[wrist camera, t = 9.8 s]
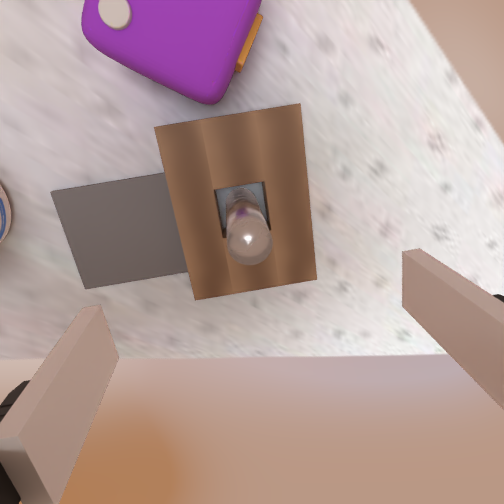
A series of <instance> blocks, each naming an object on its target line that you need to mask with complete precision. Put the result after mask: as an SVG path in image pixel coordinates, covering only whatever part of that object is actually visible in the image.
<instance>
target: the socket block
mask: <svg viewBox="0 0 504 504" xmlns="http://www.w3.org/2000/svg"><path fill="white" fill-rule="evenodd" d="M154 129H155V134H156V138H157V142H158V146H159V150H160V155H161V159H162V163H163V167H164V172H165V176H166V180H167V184H168V188H169V193H170V197H171V201H172V205H173V209H174V214H175V218H176V222H177V226H178V230H179V235H180V239H181V243H182V247H183V252H184V256H185V260H186V264H187V268H188V273H189V277H190V281H191V285H192V289H193V294H194V298H195V300H201V299H206V298H212V297H218V296H224V295H230V294H236V293H241V292H247V291H253V290H259V289H265V288H271V287H276V286H282V285H288V284H294V283H300V282H306V281H311V280H317V274H316V263H315V253H314V242H313V231H312V221H311V210H310V200H309V189H308V178H307V168H306V157H305V147H304V136H303V125H302V115H301V104H300V103H299V104H293V105H287V106H281V107H275V108H268V109H262V110H256V111H250V112H244V113H238V114H231V115H225V116H219V117H213V118H207V119H201V120H194V121H188V122H182V123H176V124H170V125H164V126H158V127H154ZM257 182H262V186H263V193H264V200H265V207H266V214H267V222H266V224H267V226H268V228H269V231H270V233H271V236H272V240H273V246H272V250H271V252H270V254H269V256H268V257H267V258H266V259H265V260H264V261H262V262H260V263H258V264H255V265H244V264H241V263H239V262H237V261H235V260H234V259H233V258H232V257H231V255H230V254H229V252H228V249H227V229H226V228H225V229H223V227H222V222H221V217H220V212H219V206H218V201H217V196H216V191H215V189H221V188H227V187H233V186H239V185H245V184H251V183H257Z"/></svg>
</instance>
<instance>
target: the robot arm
mask: <svg viewBox="0 0 504 504" xmlns="http://www.w3.org/2000/svg"><path fill="white" fill-rule="evenodd" d="M402 307H403V308H404V309H405V310H406V311H407V312H408V313H409V314H410V315H411V316H412V317H413V318H414V319H415V320H416V321H417V322H418V323H419V324H420V325H421V326H422V327H423V328H424V329H425V330H426V331H427V332H428V333H429V334H430V335H431V336H432V337H433V338H434V339H435V340H436V341H437V342H438V344H439V345H440V346H441V347H442V348H443V349H444V350H445V351H446V352H447V353H448V354H449V355H450V356H451V357H452V358H453V359H454V360H455V361H456V362H457V363H458V364H459V365H460V366H461V367H462V368H463V369H464V370H465V371H466V372H467V373H468V374H469V375H470V376H471V377H472V378H473V379H474V380H475V381H476V382H477V383H478V384H479V385H480V386H481V387H482V388H483V389H484V391H485V392H487V394H489V396H490V397H491V398H492V399H493V400H494V401H495V402H496V403H497V404H498V405H499V406H500V407H501V408H502V409H503V410H504V296H502V295H499V294H496V295H491V294H489V293H488V292H486V291H485V290H483V289H482V288H480V287H479V286H477V285H475V284H474V283H472V282H471V281H469V280H468V279H466V278H465V277H463V276H462V275H460V274H458V273H457V272H455V271H454V270H452V269H451V268H449V267H448V266H446V265H445V264H443V263H441V262H440V261H438V260H437V259H435V258H434V257H432V256H431V255H429V254H427V253H426V252H424V251H423V250H421V249H420V248H419V249H414V250H408V251H402ZM118 359H119V356H118V353H117V350H116V348H115V345H114V342H113V339H112V336H111V333H110V330H109V328H108V325H107V322H106V319H105V316H104V313H103V311H102V308H101V305H96V306H90V307H85V308H82V309H81V311H80V312H79V313H78V315H77V316H76V318H75V319H74V320H73V322H72V323H71V324H70V326H69V327H68V329H67V330H66V331H65V333H64V334H63V336H62V337H61V338H60V340H59V341H58V343H57V344H56V345H55V347H54V348H53V350H52V351H51V352H50V354H49V355H48V357H47V358H46V359H45V361H44V362H43V364H42V365H41V366H40V368H39V369H38V371H37V372H36V373H35V375H34V376H33V378H32V379H31V380H29V381H24V382H22V383H21V384H20V385H19V386H17V387H16V388H15V389H14V390H13V391H12V392H10V393H9V394H8V396H7V397H6V398H5V400H4V401H3V402H2V404H1V405H0V504H19V502H20V500H21V502H22V504H59V502H60V499H61V497H62V494H63V492H64V490H65V487H66V485H67V482H68V480H69V478H70V475H71V473H72V470H73V468H74V465H75V463H76V460H77V458H78V456H79V453H80V451H81V448H82V446H83V444H84V441H85V439H86V436H87V434H88V432H89V429H90V427H91V424H92V422H93V420H94V417H95V415H96V412H97V410H98V407H99V405H100V403H101V400H102V398H103V395H104V393H105V390H106V388H107V386H108V383H109V381H110V378H111V376H112V374H113V371H114V369H115V366H116V364H117V362H118Z"/></svg>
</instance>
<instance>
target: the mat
mask: <svg viewBox="0 0 504 504" xmlns="http://www.w3.org/2000/svg"><path fill="white" fill-rule="evenodd" d="M50 193H51V196H52V198H53V201H54V204H55V207H56V209H57V212H58V215H59V218H60V221H61V223H62V226H63V229H64V232H65V234H66V237H67V240H68V243H69V246H70V248H71V251H72V254H73V257H74V260H75V262H76V265H77V268H78V271H79V273H80V276H81V279H82V282H83V285H84V287H85V289H90V288H96V287H102V286H108V285H114V284H120V283H125V282H131V281H137V280H143V279H149V278H155V277H161V276H167V275H172V274H178V273H184V272H188V268H187V264H186V260H185V256H184V252H183V247H182V243H181V239H180V235H179V230H178V226H177V222H176V218H175V214H174V209H173V205H172V201H171V197H170V193H169V188H168V184H167V180H166V176H165V173H160V174H154V175H148V176H142V177H136V178H129V179H123V180H117V181H111V182H105V183H99V184H93V185H87V186H81V187H75V188H69V189H63V190H57V191H52V192H50Z"/></svg>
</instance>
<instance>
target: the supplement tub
mask: <svg viewBox="0 0 504 504" xmlns="http://www.w3.org/2000/svg"><path fill="white" fill-rule="evenodd" d="M10 224H11V209H10V204H9V201H8V198H7V196H6V194H5V192H4V190H3V188H2V187H1V185H0V243H1V242H2V241H3V239H4V238H5V236H6V235H7V233H8V230H9V228H10Z"/></svg>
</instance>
